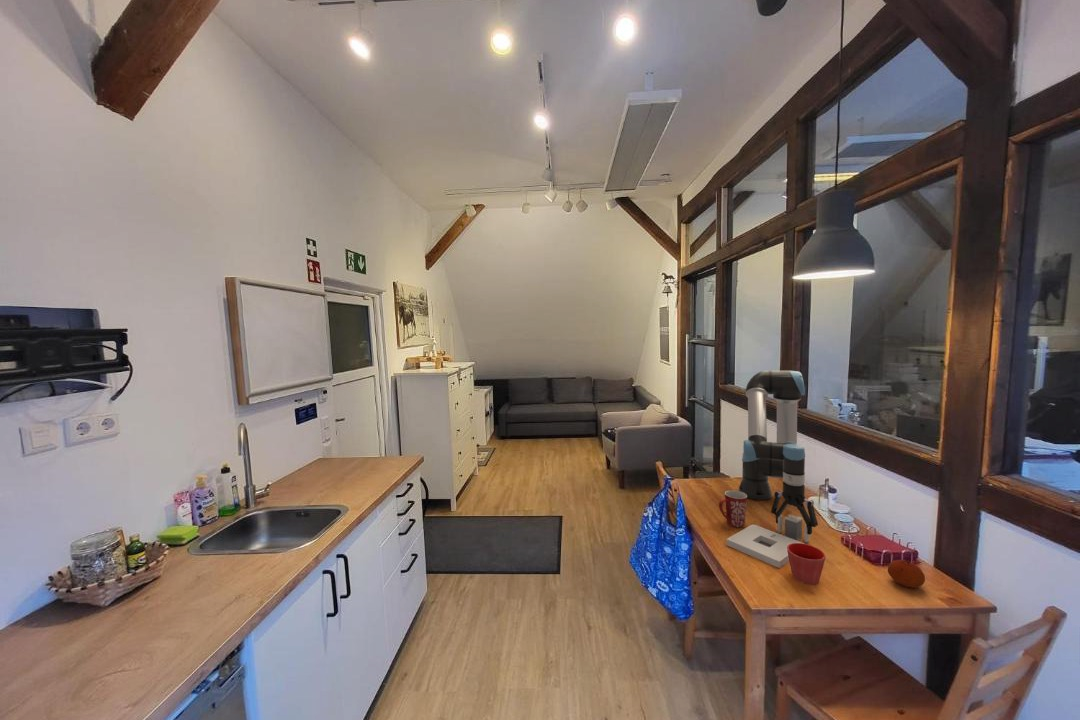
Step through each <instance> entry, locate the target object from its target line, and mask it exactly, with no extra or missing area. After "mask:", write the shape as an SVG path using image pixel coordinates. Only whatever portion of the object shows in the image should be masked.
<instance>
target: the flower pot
mask: <svg viewBox="0 0 1080 720" xmlns="http://www.w3.org/2000/svg"><path fill="white" fill-rule="evenodd" d="M803 543H804V542H802V543H792V544H789V545H788V546H787V551H788V557H789V562H788V563H789V566H790V571H791V575H792V577H793V578H794V579H795V580H796V581H798V582H800V583H802V584H805V585H810V586H813V585H817V584H819V583H820V580H821V575H822V573H823V569H824V565H825V563H826V562H825V561H826V554H825V552H823V551H822V550H821V549H819V548H818V547H816V546H813V545H810V544H807V543H805V544H803Z"/></svg>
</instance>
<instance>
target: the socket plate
mask: <svg viewBox="0 0 1080 720" xmlns="http://www.w3.org/2000/svg"><path fill="white" fill-rule="evenodd" d="M792 543H803V544H806V542H802V541H800V540H794V539H792V538H789V537H786V536H785V535H784V534H780V533H779V532H775V531H772V530H770V529H766V528H764V527H761V526H759V525H757V524H754V523H752V524H750V525H748V526H747V527H745V528H744V529H742V530H740V531H738V532H736V533H735V534H733V535H731V536H729V537H727V538H726V546H727V547H730V548H732V549H735V550H737V551H740V552H741V553H744V554H746V555H748V556H751V557H753V558H755V559H757V560H759V561H762V562H764V563H767V564H769V565H771V566H774V567H776V568H778V569H781V568H782V567H784V566H785V565H786V564H787V563H790V562H789V557H788V551H787V546H788V545H789V544H792Z"/></svg>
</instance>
